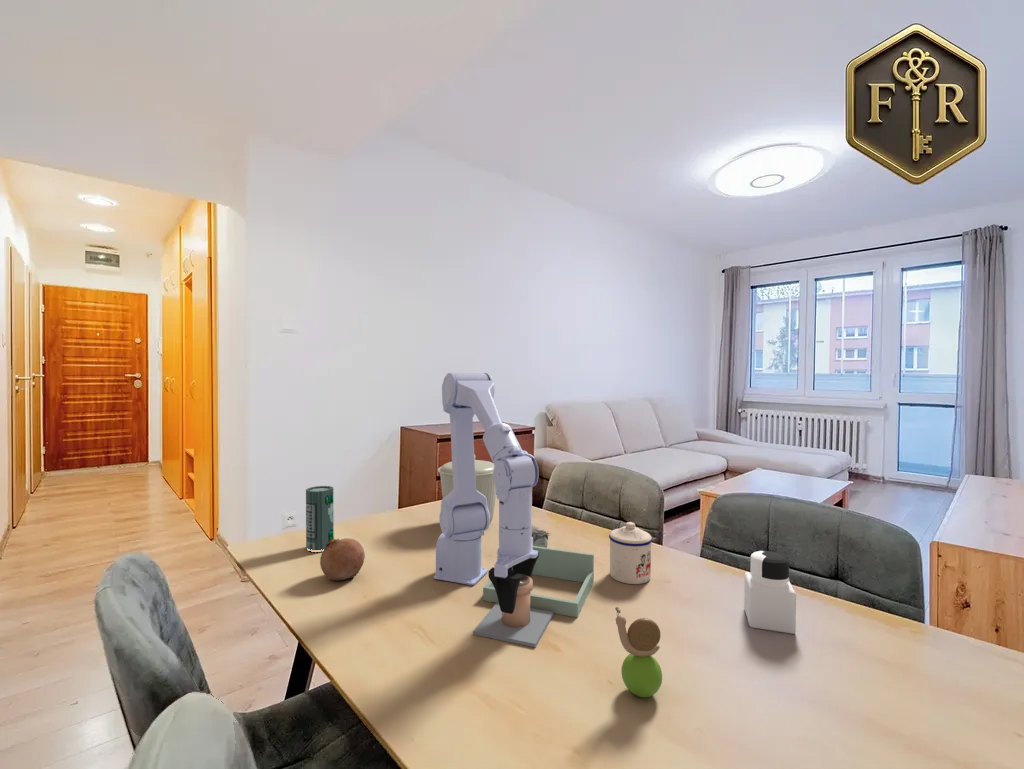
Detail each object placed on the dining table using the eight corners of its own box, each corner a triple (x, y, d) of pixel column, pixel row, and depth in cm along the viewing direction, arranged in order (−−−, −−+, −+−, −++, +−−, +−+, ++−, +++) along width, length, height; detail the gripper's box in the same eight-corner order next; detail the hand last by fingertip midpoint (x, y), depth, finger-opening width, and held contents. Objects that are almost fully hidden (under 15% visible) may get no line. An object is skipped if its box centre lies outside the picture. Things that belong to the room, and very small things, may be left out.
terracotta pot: (494, 625, 82) (494, 584, 82) (506, 609, 88) (506, 571, 88) (526, 631, 80) (526, 590, 80) (536, 615, 86) (536, 576, 86)
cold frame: (483, 600, 93) (483, 569, 93) (510, 569, 107) (511, 542, 107) (577, 617, 86) (577, 584, 86) (593, 582, 101) (593, 554, 101)
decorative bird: (524, 541, 126) (524, 511, 126) (558, 565, 110) (558, 531, 110) (504, 544, 123) (504, 514, 123) (536, 570, 108) (536, 534, 107)
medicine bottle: (786, 615, 88) (788, 550, 87) (796, 635, 81) (797, 564, 81) (743, 608, 90) (744, 545, 90) (749, 627, 83) (750, 559, 83)
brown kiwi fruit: (325, 595, 101) (302, 557, 99) (349, 567, 109) (329, 532, 108) (357, 586, 98) (334, 547, 96) (380, 559, 106) (359, 522, 104)
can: (337, 547, 120) (337, 488, 120) (314, 554, 116) (313, 493, 115) (325, 542, 124) (325, 484, 124) (302, 548, 120) (302, 488, 119)
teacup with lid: (643, 589, 98) (644, 532, 97) (602, 578, 103) (602, 524, 102) (661, 569, 108) (661, 518, 107) (622, 560, 113) (622, 511, 112)
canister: (510, 520, 143) (510, 450, 143) (482, 539, 127) (482, 460, 126) (458, 512, 151) (458, 446, 150) (425, 529, 134) (425, 455, 134)
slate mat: (473, 634, 81) (473, 630, 81) (497, 604, 91) (497, 601, 91) (535, 647, 77) (535, 643, 77) (553, 615, 87) (553, 611, 87)
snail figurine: (609, 681, 68) (610, 598, 68) (653, 679, 69) (653, 597, 69) (621, 708, 63) (622, 618, 63) (668, 705, 64) (669, 616, 63)
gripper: (523, 541, 75) (523, 626, 76) (548, 515, 89) (548, 587, 89) (482, 535, 78) (482, 618, 78) (513, 511, 91) (512, 582, 92)
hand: (514, 601), depth 84 cm, fingers open, 7 cm apart
